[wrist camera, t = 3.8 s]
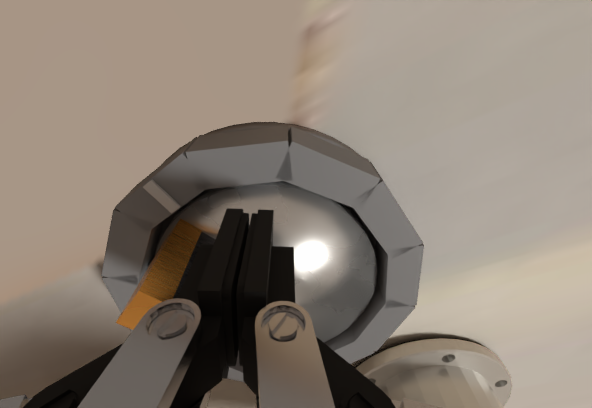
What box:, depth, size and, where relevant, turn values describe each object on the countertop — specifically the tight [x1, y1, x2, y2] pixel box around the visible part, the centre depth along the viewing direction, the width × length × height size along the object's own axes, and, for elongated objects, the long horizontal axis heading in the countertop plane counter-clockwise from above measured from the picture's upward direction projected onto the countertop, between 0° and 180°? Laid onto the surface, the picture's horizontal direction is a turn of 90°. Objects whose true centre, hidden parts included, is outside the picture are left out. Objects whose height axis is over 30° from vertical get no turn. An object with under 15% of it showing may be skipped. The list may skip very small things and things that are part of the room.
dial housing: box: [101, 122, 424, 382], centre depth 15 cm, size 14×14×3 cm
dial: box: [116, 181, 377, 373], centre depth 13 cm, size 10×10×5 cm
